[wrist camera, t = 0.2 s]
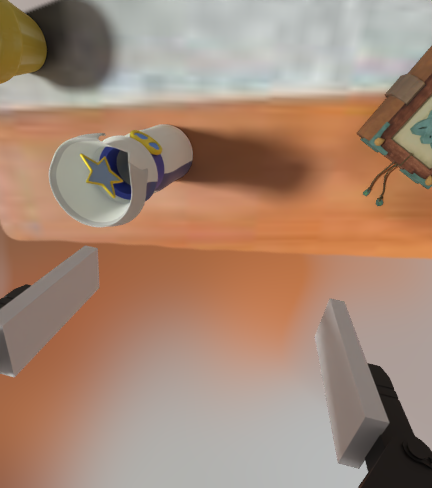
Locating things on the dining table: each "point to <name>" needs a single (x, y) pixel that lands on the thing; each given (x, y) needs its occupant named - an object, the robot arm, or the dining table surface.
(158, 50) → the dining table surface
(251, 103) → the dining table surface
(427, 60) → the decorative book
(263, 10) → the dining table surface
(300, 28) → the dining table surface
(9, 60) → the plant pot
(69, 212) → the water bottle
